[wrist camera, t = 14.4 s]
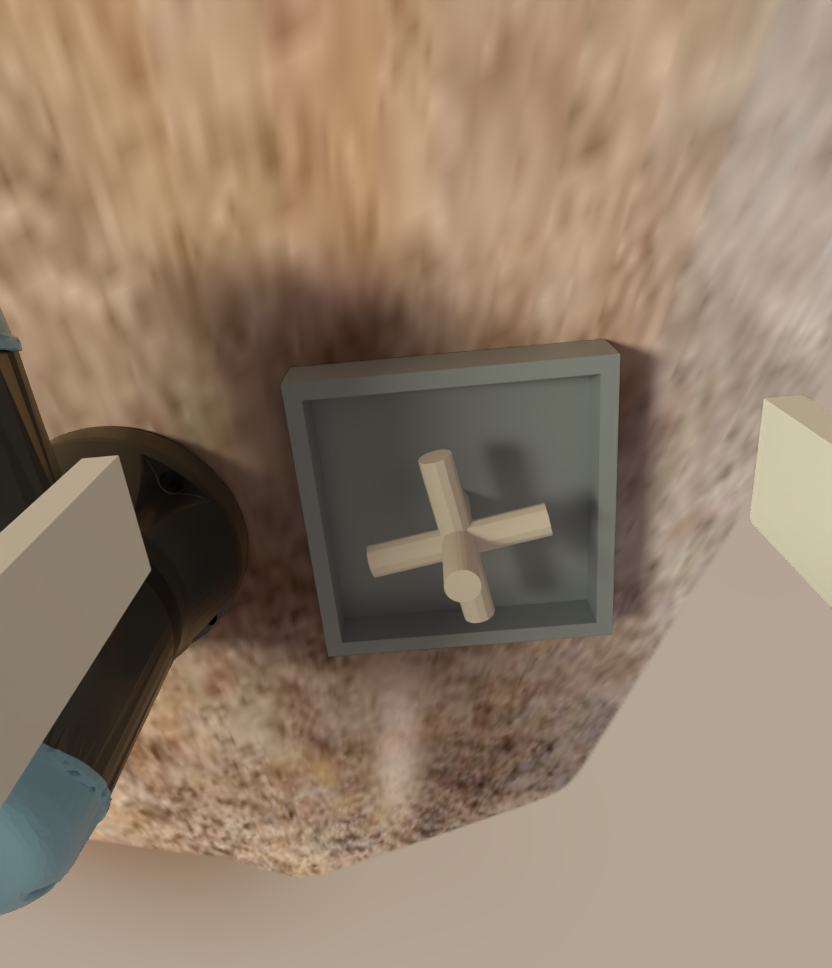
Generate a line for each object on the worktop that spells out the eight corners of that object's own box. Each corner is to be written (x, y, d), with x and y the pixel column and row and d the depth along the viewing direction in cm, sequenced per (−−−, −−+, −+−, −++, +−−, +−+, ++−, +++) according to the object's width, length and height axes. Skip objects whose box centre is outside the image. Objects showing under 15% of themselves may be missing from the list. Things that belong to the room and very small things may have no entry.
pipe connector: (550, 552, 45) (583, 647, 36) (399, 587, 46) (392, 688, 37) (516, 404, 41) (543, 468, 32) (352, 447, 42) (332, 521, 33)
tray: (333, 625, 48) (328, 656, 45) (290, 367, 41) (280, 384, 38) (599, 604, 48) (612, 634, 45) (604, 338, 40) (620, 353, 37)
